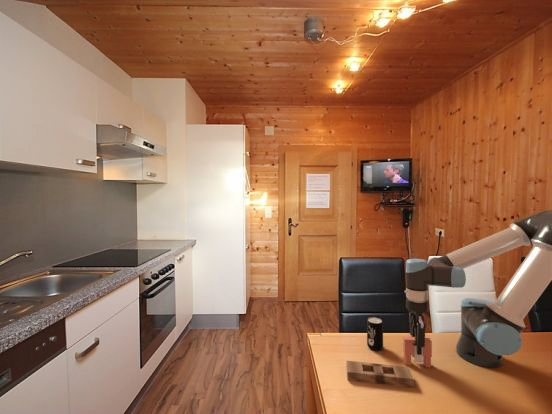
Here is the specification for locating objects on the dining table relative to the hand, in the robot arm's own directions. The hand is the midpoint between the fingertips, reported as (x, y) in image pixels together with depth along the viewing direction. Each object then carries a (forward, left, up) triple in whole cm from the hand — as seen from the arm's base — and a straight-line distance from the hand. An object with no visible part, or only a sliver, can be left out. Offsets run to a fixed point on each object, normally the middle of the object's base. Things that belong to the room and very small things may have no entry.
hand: (417, 358), depth 106 cm
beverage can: (+14, -10, -2) cm, 17 cm away
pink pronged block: (0, 0, -2) cm, 2 cm away
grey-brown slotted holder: (+16, +11, -2) cm, 20 cm away
